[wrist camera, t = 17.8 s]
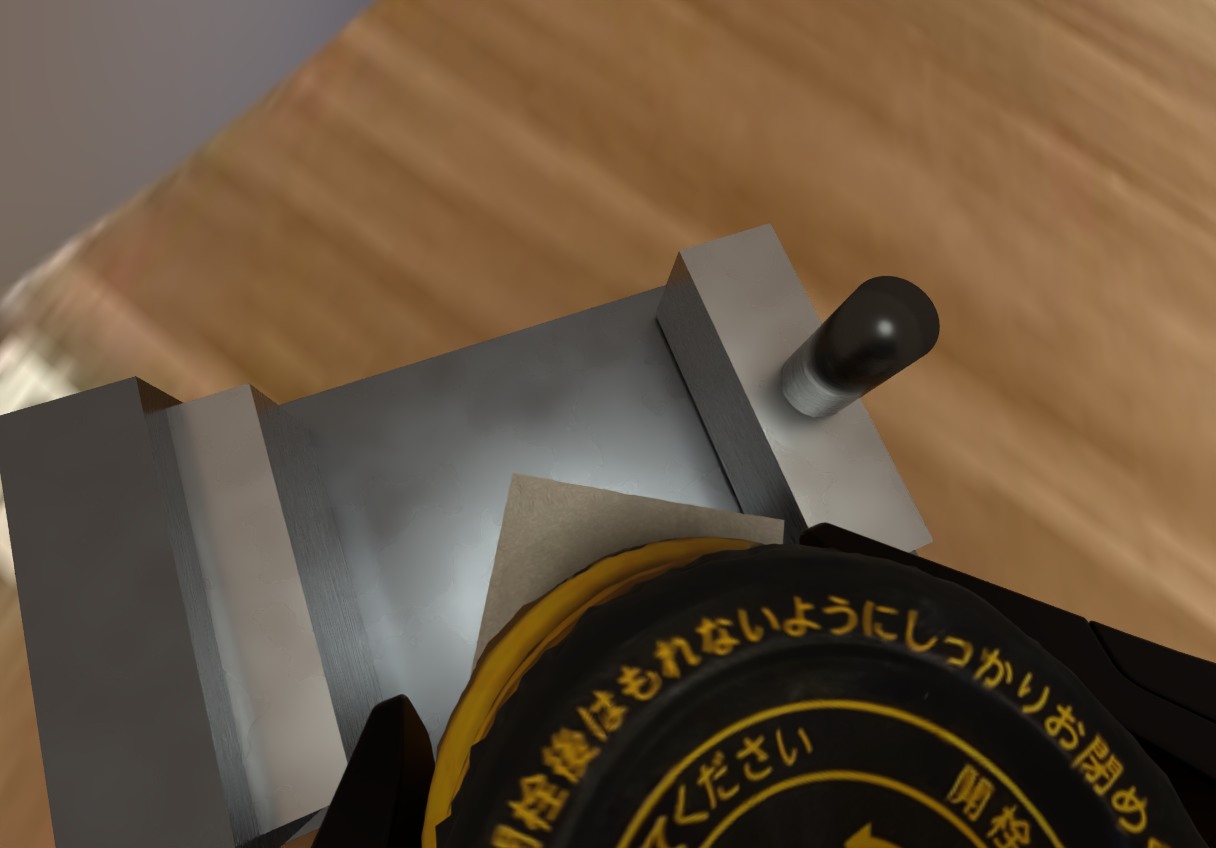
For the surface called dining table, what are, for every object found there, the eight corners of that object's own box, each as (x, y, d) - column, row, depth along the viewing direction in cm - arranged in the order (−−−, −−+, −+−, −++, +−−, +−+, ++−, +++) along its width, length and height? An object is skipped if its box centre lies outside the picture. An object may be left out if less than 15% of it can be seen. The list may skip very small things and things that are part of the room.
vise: (756, 268, 24) (823, 161, 18) (903, 563, 21) (1037, 547, 15) (151, 458, 20) (-11, 397, 14) (236, 858, 17) (76, 988, 11)
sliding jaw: (731, 289, 22) (830, 122, 14) (858, 553, 20) (1056, 521, 12) (655, 313, 21) (716, 152, 14) (777, 588, 19) (931, 578, 12)
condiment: (435, 843, 14) (-94, 2107, 2) (513, 473, 16) (465, 141, 5) (754, 888, 14) (1738, 2120, 3) (779, 521, 17) (1324, 324, 5)
